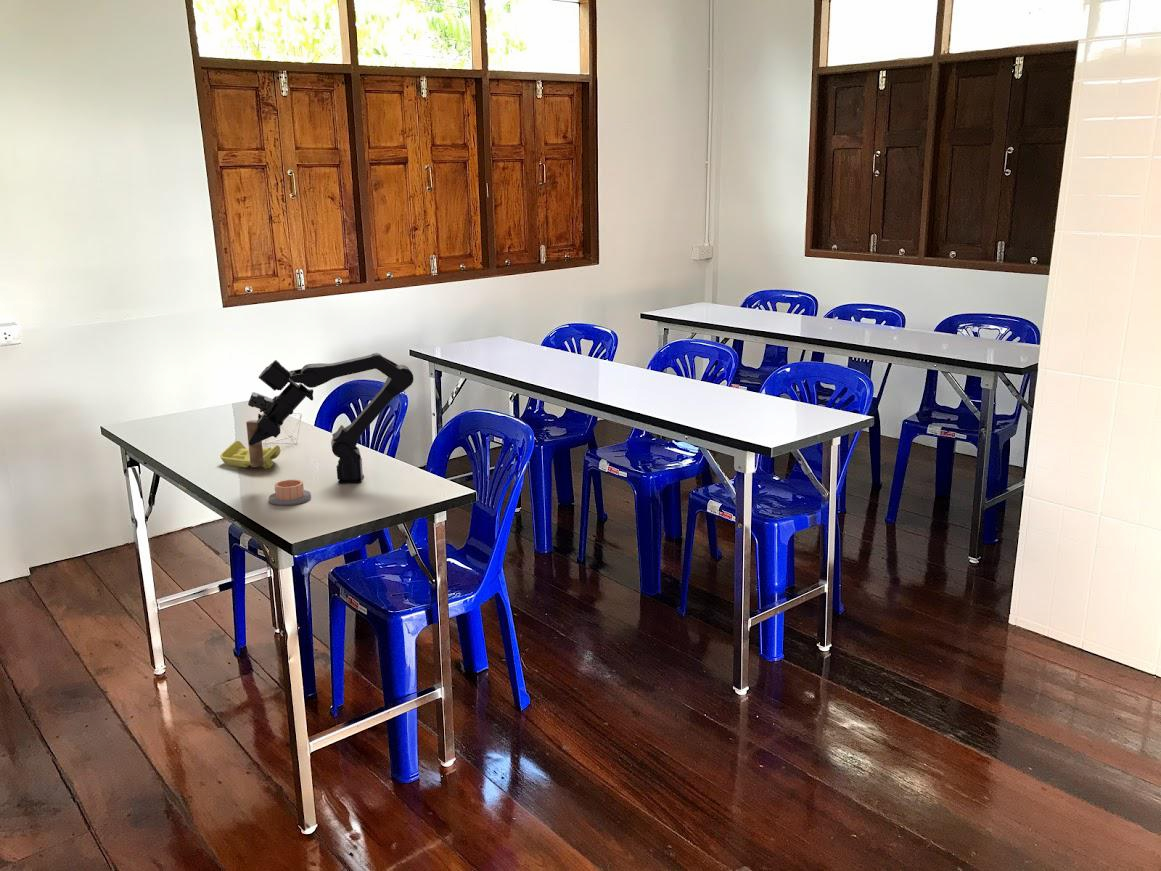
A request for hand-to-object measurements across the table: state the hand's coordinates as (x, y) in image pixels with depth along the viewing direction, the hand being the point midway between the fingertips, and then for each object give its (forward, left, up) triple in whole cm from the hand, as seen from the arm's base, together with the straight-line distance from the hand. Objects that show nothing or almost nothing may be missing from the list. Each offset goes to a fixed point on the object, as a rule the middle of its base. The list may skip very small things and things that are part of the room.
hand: (249, 442), depth 270 cm
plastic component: (+6, -24, -14) cm, 29 cm away
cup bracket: (-12, +10, -13) cm, 21 cm away
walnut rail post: (-1, 0, -7) cm, 7 cm away
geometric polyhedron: (+3, -52, -14) cm, 53 cm away
